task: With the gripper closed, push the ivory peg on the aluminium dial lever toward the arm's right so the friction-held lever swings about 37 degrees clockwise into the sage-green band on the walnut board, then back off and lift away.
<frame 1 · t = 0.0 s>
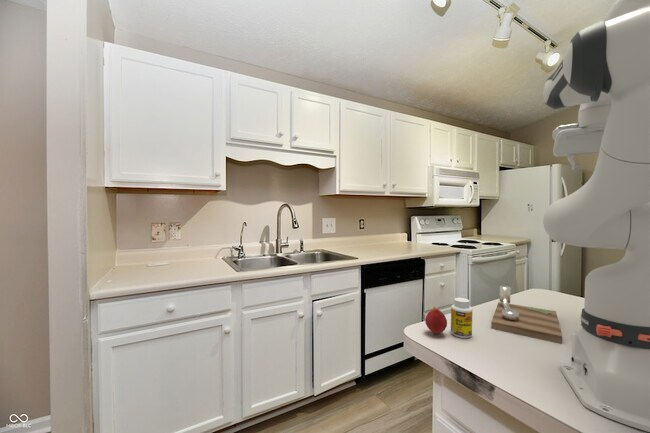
hand: (597, 168, 82), 48 cm above the counter, fingers open, 8 cm apart
onion: (435, 334, 82), on the counter
dial: (507, 301, 94), point 6 cm above the counter, hinge at 0.0°
supplement bottle: (461, 335, 82), on the counter
dial board: (525, 322, 91), on the counter
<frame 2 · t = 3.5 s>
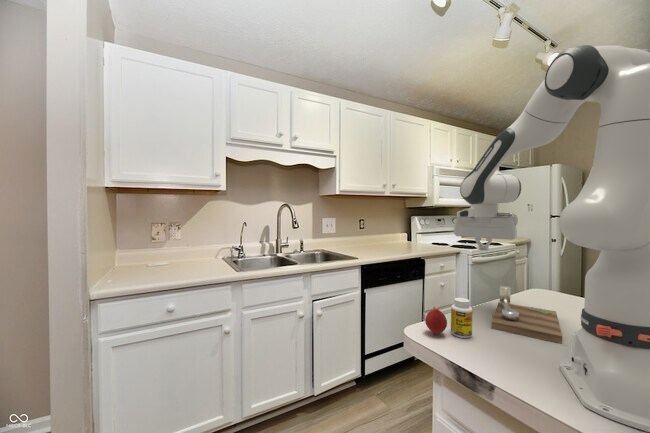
hand: (483, 250, 105), 21 cm above the counter, fingers closed
nothing on the counter moved.
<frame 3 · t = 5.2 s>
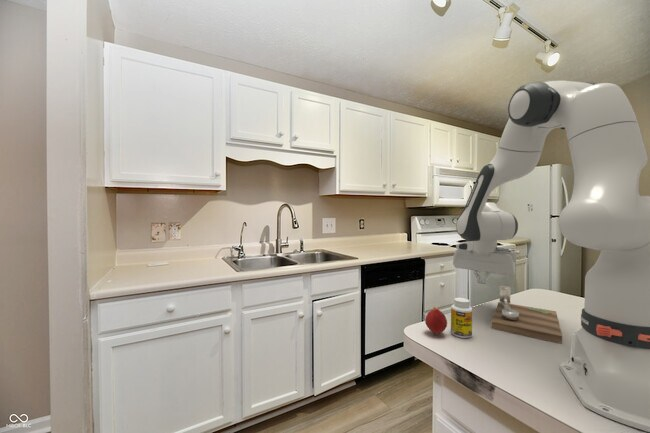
hand: (482, 283, 105), 9 cm above the counter, fingers closed
nothing on the counter moved.
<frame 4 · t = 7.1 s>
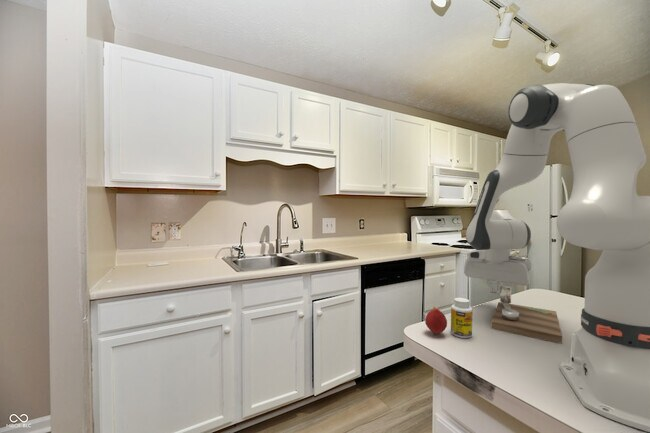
hand: (494, 292, 102), 6 cm above the counter, fingers closed
dial: (508, 301, 94), point 6 cm above the counter, hinge at -0.9°, touching gripper
everything else where it was.
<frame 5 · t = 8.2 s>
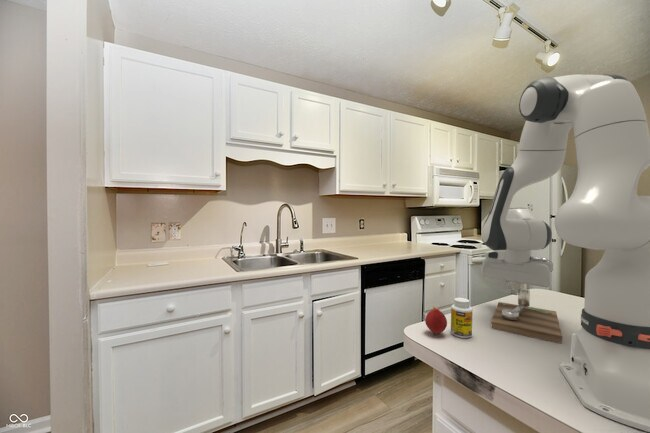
hand: (513, 294, 99), 7 cm above the counter, fingers closed
dial: (517, 303, 92), point 6 cm above the counter, hinge at -24.2°, touching gripper
everything else where it was.
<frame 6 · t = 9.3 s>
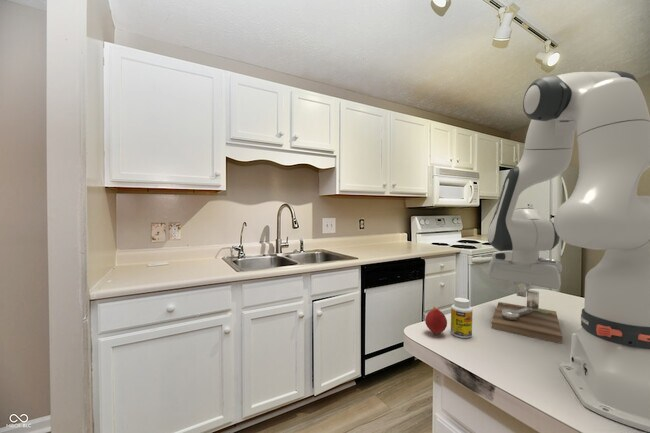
hand: (521, 296, 97), 7 cm above the counter, fingers closed
dial: (521, 304, 91), point 6 cm above the counter, hinge at -35.6°, touching gripper
everything else where it was.
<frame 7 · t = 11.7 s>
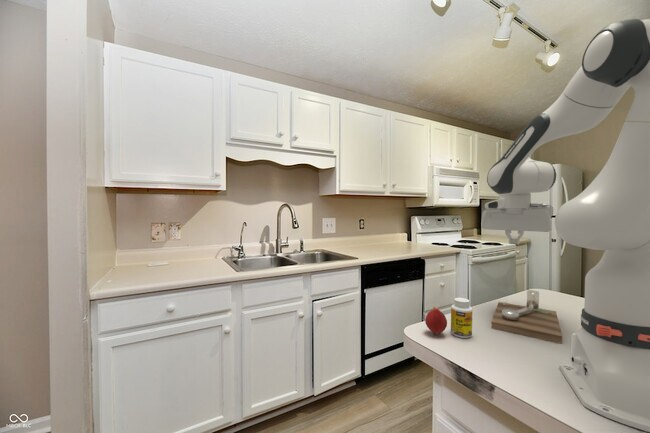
hand: (514, 243, 98), 24 cm above the counter, fingers closed
dial: (521, 304, 91), point 6 cm above the counter, hinge at -35.7°
everything else where it was.
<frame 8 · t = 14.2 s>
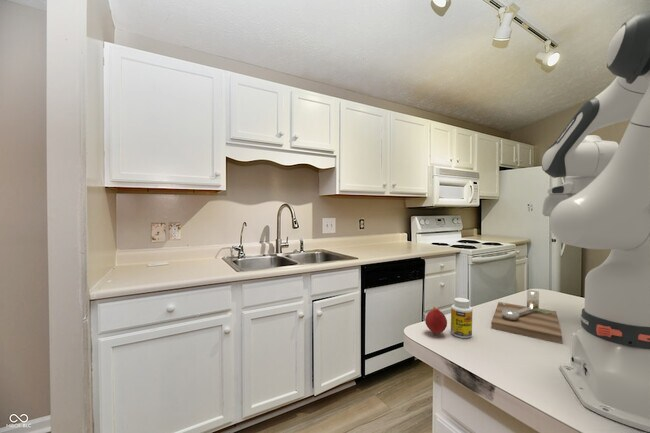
hand: (581, 231, 92), 29 cm above the counter, fingers closed
nothing on the counter moved.
at the end: dial at -36° (first picture: +0°) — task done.
